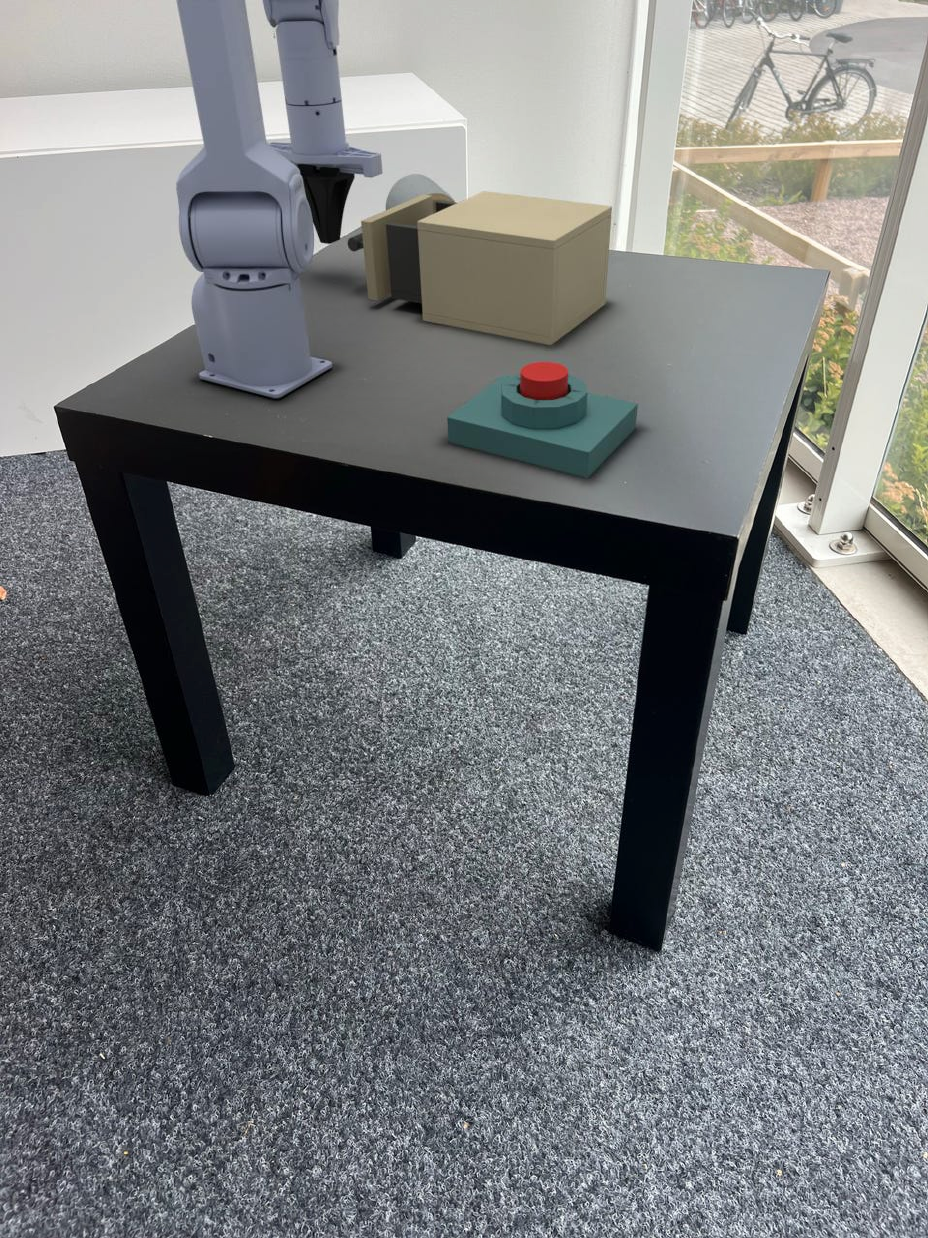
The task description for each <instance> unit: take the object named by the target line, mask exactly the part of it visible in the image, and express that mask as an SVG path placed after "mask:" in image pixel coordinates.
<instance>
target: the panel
mask: <svg viewBox="0 0 928 1238" xmlns="http://www.w3.org/2000/svg"><path fill="white" fill-rule="evenodd" d="M638 408H639V403H638V402H634V401H633V402H632V401H627V400H624V399H619V398H614V397H610V396H605V395H600V394H595V393H591V392H588V390H587V384H586V382H585V381H584V380H582V379H580V378H578V377H577V376H575V375H574V374H570V373H568V390H567V395H566V396H565V397H562V398H559V399H555V400H534V399H529V398H525V397H523V396H522V395H521V394H520V373H518V374H515V375H507V374H503V375H501V376H500V377H499V378H497V379H496V380H494V381H493V382H492V383H491V384H489V385H488V386H487V387H485V388H484V389H483V390H481V391H480V392H479V393H477V394H476V395H475V396H474V397H472V398H471V399H469V400H468V401H467V402H465V403H464V404H463V405H461V406H460V407H459V408H457V409H456V410H454V411H453V412H451V414H449V415H448V416H446V417H447V418H446V419H447V439H448V440H447V442H448V443H451V444H454V445H458V446H462V447H466V448H470V449H473V450H476V451H482V452H485V453H489V454H493V455H496V456H499V457H505V458H507V459H512V460H516V461H519V462H524V463H528V464H532V465H534V466H539V467H543V468H546V469H550V470H554V471H558V472H562V473H566V474H570V475H574V476H577V477H581V478H585V479H589V478H590V476H592V475H593V474H594V472H595V471H596V470H597V469H598V468H600V467H601V465H602V464H603V463H604V462H605V461H606V460H607V459H608V458H609V457H610V456H611V455H612V454H613V453H614V452H615V451H616V450H617V448H618V447H619V446H621V444H622V443H623V442H624V441H626V439H627V438H628V437H629V436H630V435H631V434H632V433H633V432H634V431H635V430H636V428H637V417H638Z"/></svg>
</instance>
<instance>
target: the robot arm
mask: <svg viewBox="0 0 928 1238" xmlns="http://www.w3.org/2000/svg"><path fill="white" fill-rule="evenodd" d="M339 4H340V0H262V5H263V10H264V13H265V17H266V19H267V22H268V23H269V25H270V26H271V27H272V28H273V29H274V28H275V37H276V45H277V51H278V58H279V66H280V73H281V80H282V87H283V95H284V102H285V111H286V117H287V124H288V132H289V139H290V142H274V141H272V142H268V141H267V136H266V129H265V123H264V116H263V110H262V101H261V97H260V89H259V84H258V77H257V71H256V63H255V57H254V50H253V43H252V38H251V37H252V36H251V31H250V24H249V17H248V11H247V5H246V0H176V6H177V11H178V17H179V22H180V26H181V27H180V28H181V32H182V37H183V43H184V48H185V53H186V58H187V64H188V69H189V74H190V79H191V85H192V89H193V96H194V100H195V105H196V111H197V116H198V122H199V127H200V132H201V137H202V142H203V147H202V148H201V150H200V151H199V152H198V153H197V154H196V155H195V156H194V157H193V158H192V159H191V160H190V161H189V162H188V163H187V164H186V165H185V167H183V169H182V170H181V172H180V173H179V175H178V178H177V180H176V183H175V185H176V186H175V190H176V195H177V203H178V232H179V239H180V243H181V246H182V249H183V250H182V251H183V252H184V254H185V257H186V258H187V260H188V261H189V263H190V264H191V265H192V266H193V268H194V269H195V270H196V271H198V272H200V273H202V274H201V275H200V276H199V277H198V278H197V280H196V282H195V283H194V286H193V290H192V293H191V312H192V317H193V322H194V325H195V330H196V335H197V339H198V343H199V348H200V352H201V357H202V362H203V365H204V370H202V371H200V372H199V373H198V377H199V379H200V380H203V381H206V382H212V383H214V384H218V385H223V386H227V387H230V388H234V389H238V390H242V391H246V392H249V393H253V394H257V395H260V396H265V397H268V398H272V399H280V398H282V397H284V396H286V395H287V394H289V393H290V392H292V391H294V390H296V389H297V388H299V387H301V386H303V385H305V384H306V383H308V382H310V381H311V380H313V379H315V378H316V377H318V376H319V375H321V374H323V373H324V372H326V371H328V370H330V369H331V368H333V361H330V360H327V359H322V358H318V357H314V356H311V349H310V342H309V335H308V328H307V321H306V313H305V308H304V307H305V306H304V300H303V294H302V286H301V280H300V273H304V272H305V271H307V268H308V267H309V265H310V264H311V262H312V261H313V256H314V251H315V249H314V248H315V231H316V235H317V238H318V240H319V243H320V244H327V245H332V244H333V243H336V242H338V241H340V240H341V234H342V227H343V226H342V225H343V218H344V213H345V212H344V211H345V207H346V202H347V199H348V196H349V192H350V190H351V187H352V184H353V183H354V180H355V177H356V175H361V176H364V177H363V178H375V177H378V176H380V175H382V174H383V161H382V153H381V152H375V151H370V150H369V151H368V150H364V149H361V148H357V147H354V146H349V143H348V142H347V140H346V137H347V136H346V127H345V117H344V107H343V99H342V89H341V88H342V87H341V79H340V69H339V68H340V67H339V59H338V50H337V49H338V46H339V45H340V30H339V29H340V28H339V27H340V26H339V11H340V10H339V8H340V7H339V6H340V5H339Z"/></svg>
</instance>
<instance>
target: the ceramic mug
mask: <svg viewBox="0 0 928 1238" xmlns="http://www.w3.org/2000/svg"><path fill="white" fill-rule="evenodd" d="M421 195H431V196H432V198H433V214H435V213H436V202H437V201H447V202H455V203H456V201H455V200H454V198H453V197H452V196H451V195H450V193H448V192H447V191H445V190H444V189H443V188H442V187H440V185H439V184H437V183H436V182H435V180H432V178H430V177H428V176H427V175H423V174H419V173H412V174H408V175H405V176H403V177H401V178H399V179H398V180H397V181H396V182H395V183H394V184H393V186H392V187H391V188H390V190H389V192H388V194H387V197H386V201H385V211H386V210H388V209H391V208H393V207H395V206H398V205H400V204H402V203H405V202H407V201H409V200H412V199H414V198H417V197H419V196H421Z"/></svg>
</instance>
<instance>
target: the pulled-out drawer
mask: <svg viewBox="0 0 928 1238" xmlns="http://www.w3.org/2000/svg"><path fill="white" fill-rule="evenodd" d="M457 203H458V202H456V201H455V202H447V201H437V202H436V213H437V212H439V211H441V210H443V209H446V208H448V207H450V206H452V205H454V204H457ZM432 214H433V198H432V196H431V195H421V196H419V197H417V198H414V199H412V200H409V201H407V202H405V203H402V204H400V205H398V206H395V207H393V208H391V209H388V210H386V209H385V210H384V211H381V212H379V213H377V214H374V215H372V216H370V217H367V218H365V219H362V220H361V221H360V223H361V225H360V226H361V232H360V233H358V234H355V235H354V236H351V237H349V238H348V239H347V248H348V249H349V250H350V251H351V252H358V251H359V250H362V249H363V255H364V257H363V258H364V267H365V277H366V287H367V297H368V300H371V301H376V302H378V301H380V300H382V299H384V298H385V297H387V296H391V297H390V298H391V299H394V300H395V299H396V300H401V301H407V302H411V303H417V304H422V293H421V276H420V259H419V242H418V225H417V221H419V220H421V219H424V218H426V217H428V216H430V215H432Z"/></svg>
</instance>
